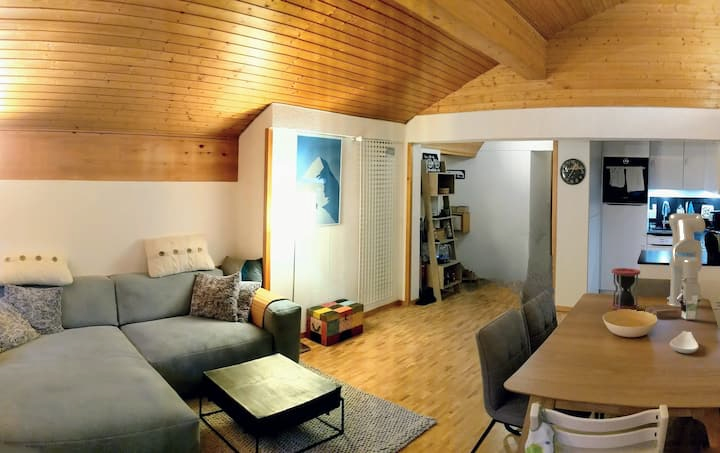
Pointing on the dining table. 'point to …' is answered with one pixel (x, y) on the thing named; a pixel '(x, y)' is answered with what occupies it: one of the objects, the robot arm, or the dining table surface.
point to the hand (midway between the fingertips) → (689, 310)
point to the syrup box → (690, 309)
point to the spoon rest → (684, 343)
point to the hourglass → (625, 288)
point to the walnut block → (661, 312)
